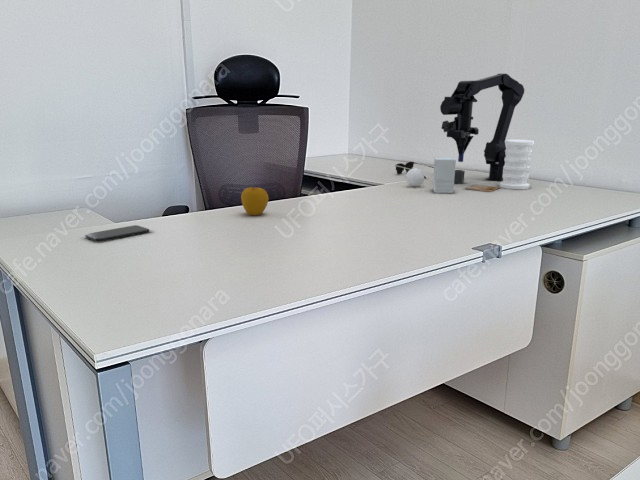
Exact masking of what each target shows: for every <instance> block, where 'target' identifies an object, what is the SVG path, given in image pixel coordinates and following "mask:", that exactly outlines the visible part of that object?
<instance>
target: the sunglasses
mask: <svg viewBox="0 0 640 480" xmlns="http://www.w3.org/2000/svg"><path fill="white" fill-rule="evenodd" d="M414 164H415V165H419V166H424V167H428V168H432V169H434V166H431V165H427V164H422V163H418V162H415V161H408V162H406V163H396V164H395V165H394V166H395V171H396V174H397V175H402V174H403V172H404V171H405V172H406V174H407V173H408V171H409V170H410V169H413V168H414ZM425 179H427V177H426V176H425V175H424V180H425Z"/></svg>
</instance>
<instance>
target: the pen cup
mask: <svg viewBox="0 0 640 480" xmlns="http://www.w3.org/2000/svg"><path fill="white" fill-rule="evenodd" d="M464 183H465V170H464V169H455V177H454V185H462V184H464Z"/></svg>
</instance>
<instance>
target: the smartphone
mask: <svg viewBox="0 0 640 480" xmlns="http://www.w3.org/2000/svg"><path fill="white" fill-rule="evenodd" d="M149 232H150V229H149V228H147V227H144V226H140V225H136V224H135V225H128V226H123V227H117V228H111V229H106V230H100V231H95V232H89V233H86V234H84V236H85V238H87V239H89V240H92V241H95V242H104V241H109V240H110V241H111V240H114V239H119V238H125V237H130V236H136V235H141V234H146V233H149Z"/></svg>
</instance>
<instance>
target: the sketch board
mask: <svg viewBox="0 0 640 480" xmlns="http://www.w3.org/2000/svg"><path fill="white" fill-rule="evenodd" d="M498 189H500V186H499V187H497V186H488V185H478V184H475V185H474V184H473V185H471V186H468V187H465V190H469V191H477V192H478V191H479V192H488V193H491V192H493V191H496V190H498Z"/></svg>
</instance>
